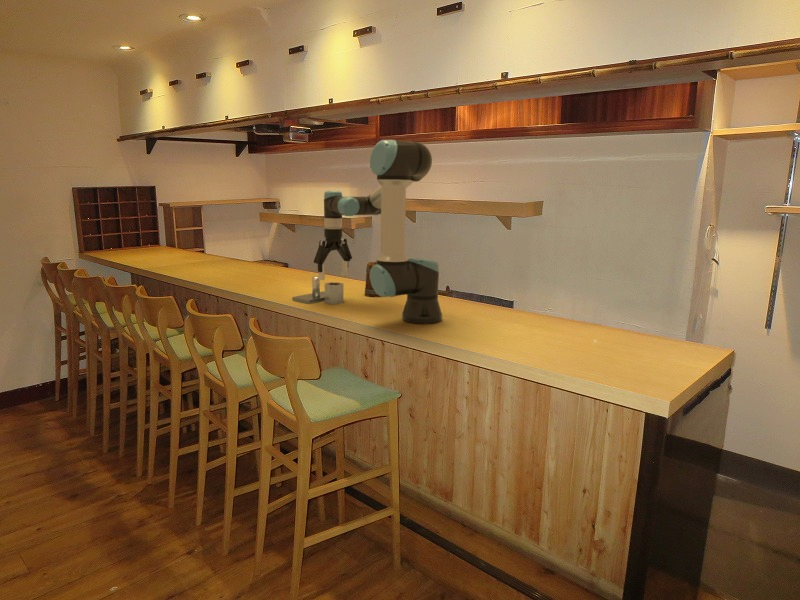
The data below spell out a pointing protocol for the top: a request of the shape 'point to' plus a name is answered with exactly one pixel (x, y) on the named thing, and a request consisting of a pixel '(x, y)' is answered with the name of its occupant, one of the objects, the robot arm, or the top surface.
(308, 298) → the shaft stand
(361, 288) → the top surface
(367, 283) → the mug
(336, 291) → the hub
